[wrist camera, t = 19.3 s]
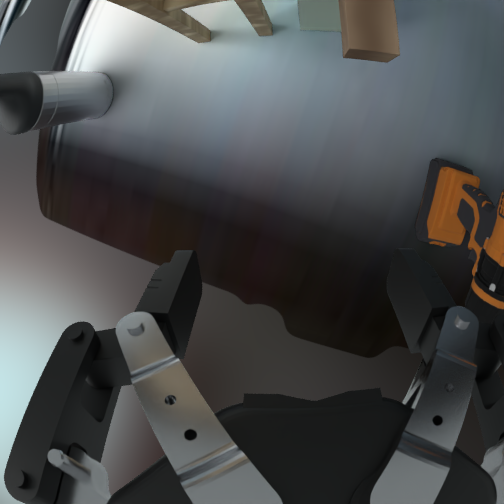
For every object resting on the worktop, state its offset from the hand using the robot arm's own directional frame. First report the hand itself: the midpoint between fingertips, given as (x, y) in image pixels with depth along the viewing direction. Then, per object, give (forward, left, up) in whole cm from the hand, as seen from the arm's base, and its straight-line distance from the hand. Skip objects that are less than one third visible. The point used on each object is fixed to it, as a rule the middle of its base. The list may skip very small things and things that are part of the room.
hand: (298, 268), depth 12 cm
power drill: (+23, -8, -35) cm, 43 cm away
